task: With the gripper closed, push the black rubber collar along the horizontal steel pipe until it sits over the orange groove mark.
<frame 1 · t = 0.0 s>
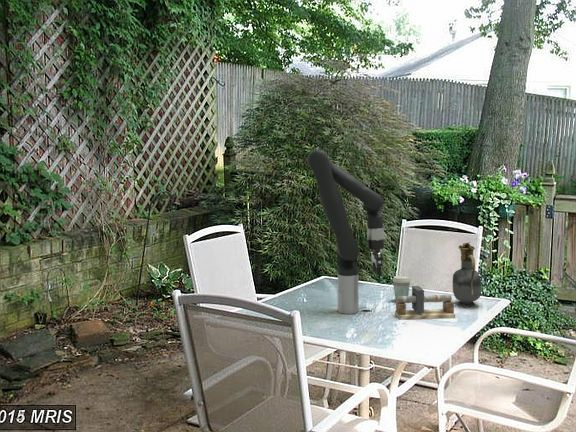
hand: (377, 273, 278), 17 cm above the table, tool pointing down, fingers open, 8 cm apart
dark grey bottle: (467, 305, 286), on the table
coffee cup: (401, 302, 296), on the table
collar: (417, 299, 268), point 7 cm above the table, slide at -3.0 cm
pipe rig: (424, 315, 269), on the table
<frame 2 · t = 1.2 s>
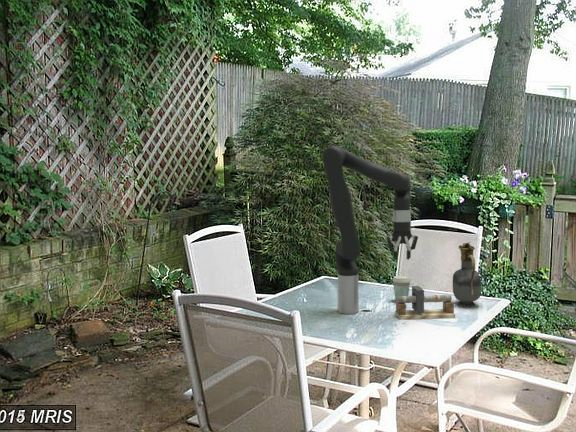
hand: (401, 259, 266), 25 cm above the table, tool pointing down, fingers open, 4 cm apart
nothing on the table moved.
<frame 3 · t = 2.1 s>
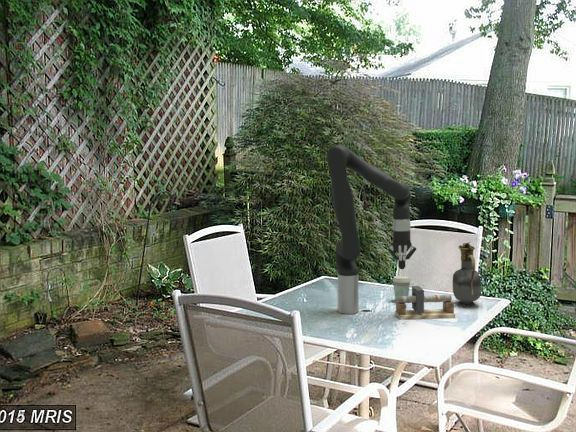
hand: (401, 268, 267), 21 cm above the table, tool pointing down, fingers closed
nothing on the table moved.
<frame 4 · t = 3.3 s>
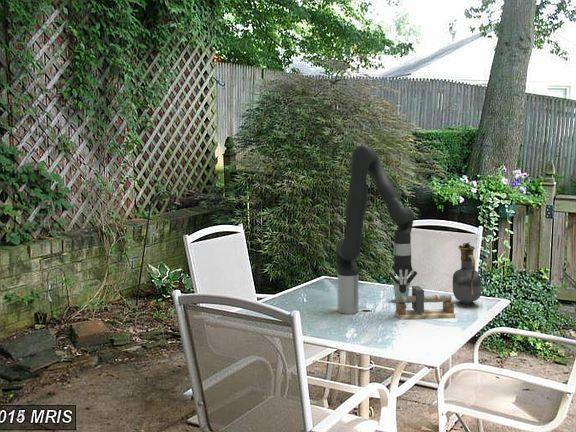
hand: (402, 292, 268), 11 cm above the table, tool pointing down, fingers closed
nothing on the table moved.
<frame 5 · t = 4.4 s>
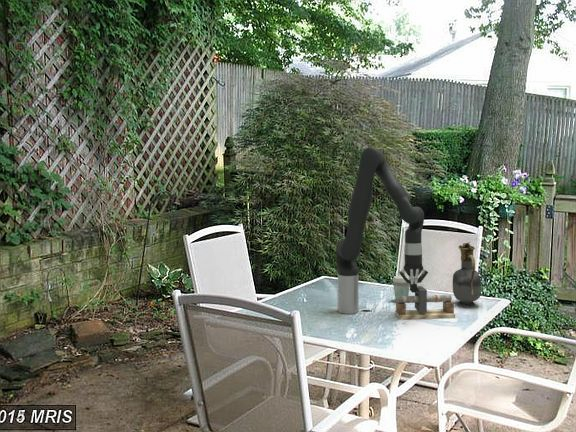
hand: (413, 292, 268), 11 cm above the table, tool pointing down, fingers closed
collar: (420, 299, 268), point 7 cm above the table, slide at -1.8 cm, touching gripper
everything else where it was.
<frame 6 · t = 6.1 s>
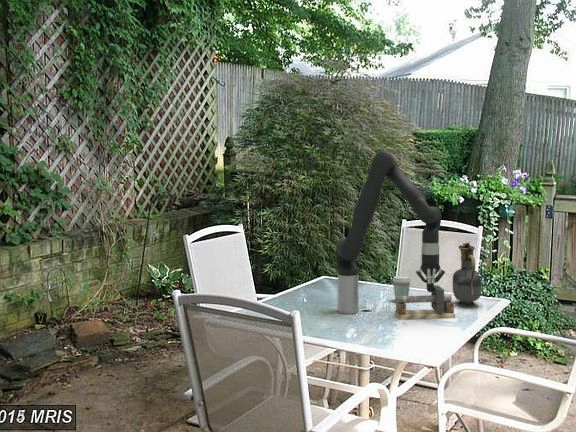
hand: (430, 291, 268), 11 cm above the table, tool pointing down, fingers closed
collar: (437, 298, 269), point 7 cm above the table, slide at 5.7 cm, touching gripper
everything else where it was.
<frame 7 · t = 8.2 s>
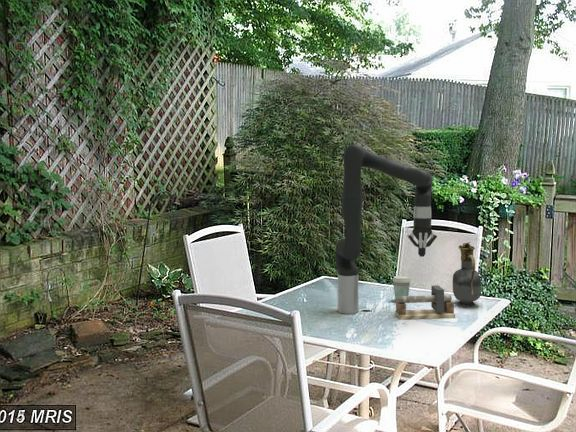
hand: (421, 256, 267), 26 cm above the table, tool pointing down, fingers closed
collar: (437, 298, 269), point 7 cm above the table, slide at 5.7 cm
everything else where it was.
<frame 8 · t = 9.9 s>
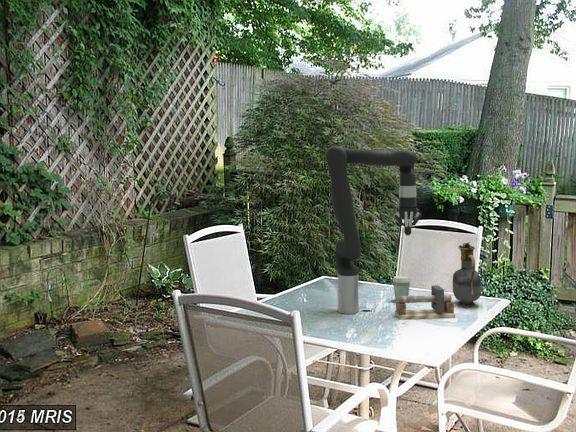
hand: (407, 235, 272), 35 cm above the table, tool pointing down, fingers closed
nothing on the table moved.
at the end: collar slide at 5.7 cm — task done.
